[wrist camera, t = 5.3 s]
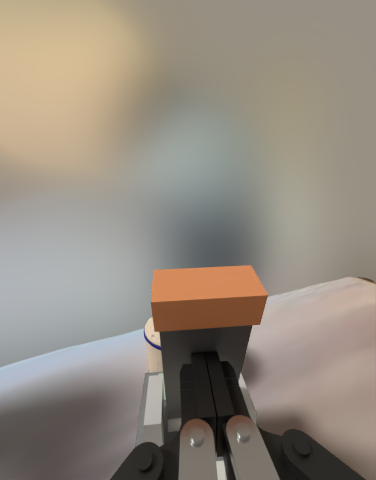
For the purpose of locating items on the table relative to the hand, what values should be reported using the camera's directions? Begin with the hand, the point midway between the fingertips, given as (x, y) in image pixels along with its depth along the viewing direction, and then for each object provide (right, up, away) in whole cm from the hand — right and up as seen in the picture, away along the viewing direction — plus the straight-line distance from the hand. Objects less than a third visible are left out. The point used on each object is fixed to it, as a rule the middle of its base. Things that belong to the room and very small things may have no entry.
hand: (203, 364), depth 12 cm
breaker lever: (0, -8, +6) cm, 9 cm away
